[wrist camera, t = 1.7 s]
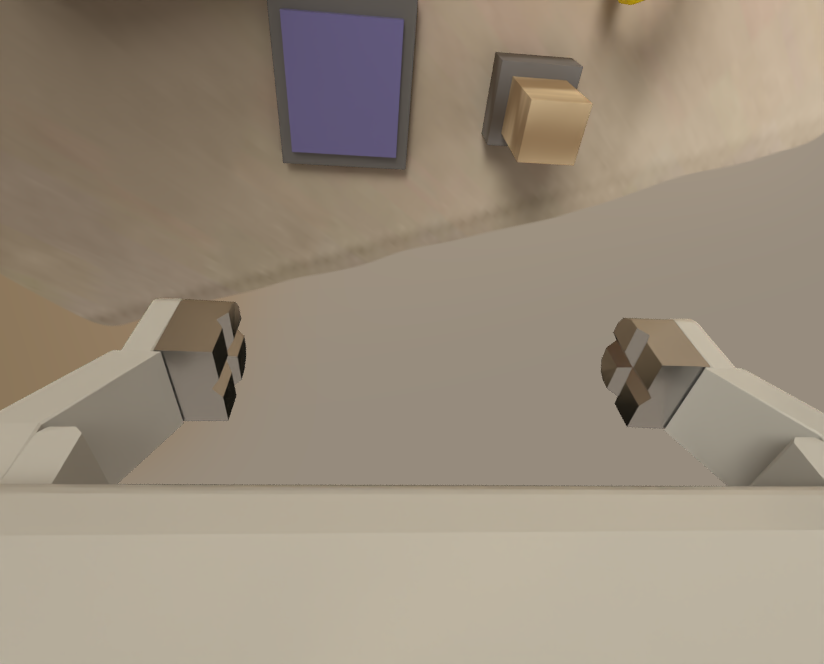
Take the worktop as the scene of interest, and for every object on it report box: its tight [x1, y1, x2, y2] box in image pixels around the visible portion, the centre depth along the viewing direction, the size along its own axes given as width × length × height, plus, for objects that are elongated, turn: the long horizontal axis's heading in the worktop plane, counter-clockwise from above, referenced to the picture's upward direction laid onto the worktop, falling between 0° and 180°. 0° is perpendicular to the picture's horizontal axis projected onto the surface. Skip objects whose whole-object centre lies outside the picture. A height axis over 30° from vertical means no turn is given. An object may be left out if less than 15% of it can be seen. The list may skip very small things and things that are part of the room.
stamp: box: [482, 52, 593, 165], centre depth 29 cm, size 5×5×7 cm
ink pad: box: [267, 0, 418, 170], centre depth 30 cm, size 10×8×2 cm
